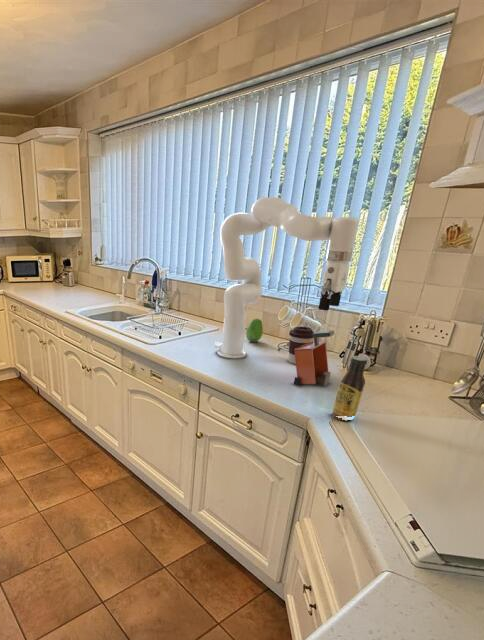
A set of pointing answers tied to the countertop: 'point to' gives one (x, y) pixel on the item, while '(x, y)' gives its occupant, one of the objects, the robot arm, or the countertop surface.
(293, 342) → the coffee cup
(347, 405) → the sauce bottle
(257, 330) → the avocado
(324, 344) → the tub
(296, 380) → the wheel axle
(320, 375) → the block
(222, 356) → the robot arm
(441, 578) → the countertop surface
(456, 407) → the countertop surface
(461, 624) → the countertop surface
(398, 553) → the countertop surface
